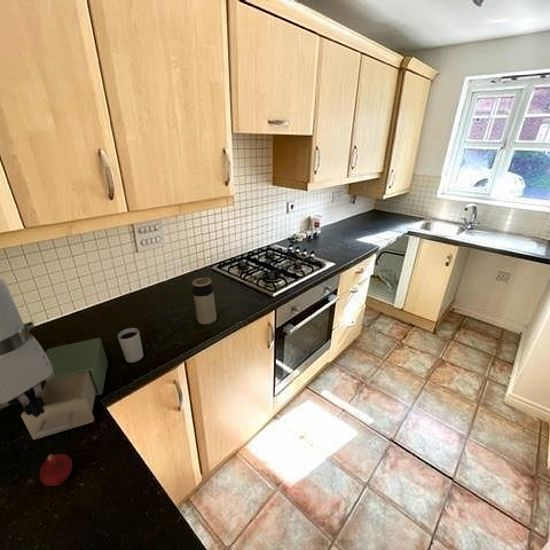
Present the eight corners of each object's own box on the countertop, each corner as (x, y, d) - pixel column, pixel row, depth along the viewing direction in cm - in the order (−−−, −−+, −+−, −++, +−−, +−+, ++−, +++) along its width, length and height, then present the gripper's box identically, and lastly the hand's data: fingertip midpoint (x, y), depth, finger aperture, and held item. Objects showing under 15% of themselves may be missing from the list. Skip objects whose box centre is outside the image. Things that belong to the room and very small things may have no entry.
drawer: (90, 437, 76) (81, 412, 73) (26, 457, 72) (13, 432, 68) (100, 384, 93) (93, 363, 89) (49, 398, 88) (39, 376, 85)
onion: (81, 475, 68) (71, 451, 65) (54, 499, 64) (41, 475, 60) (68, 463, 71) (57, 439, 68) (40, 485, 66) (27, 461, 63)
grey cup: (137, 348, 110) (131, 325, 106) (148, 355, 107) (142, 331, 103) (120, 359, 105) (113, 335, 101) (131, 365, 102) (124, 341, 98)
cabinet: (102, 394, 90) (93, 367, 86) (44, 410, 86) (31, 382, 81) (107, 362, 104) (100, 337, 100) (58, 374, 99) (47, 348, 95)
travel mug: (220, 317, 129) (215, 279, 121) (208, 326, 122) (203, 287, 115) (205, 313, 132) (200, 276, 125) (193, 322, 126) (187, 283, 118)
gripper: (35, 317, 64) (62, 383, 71) (-61, 359, 52) (-16, 434, 59) (56, 325, 60) (82, 393, 68) (-41, 372, 48) (4, 449, 56)
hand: (37, 412), depth 63 cm, fingers closed
